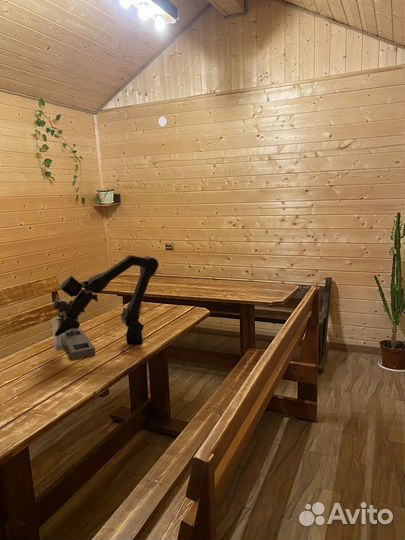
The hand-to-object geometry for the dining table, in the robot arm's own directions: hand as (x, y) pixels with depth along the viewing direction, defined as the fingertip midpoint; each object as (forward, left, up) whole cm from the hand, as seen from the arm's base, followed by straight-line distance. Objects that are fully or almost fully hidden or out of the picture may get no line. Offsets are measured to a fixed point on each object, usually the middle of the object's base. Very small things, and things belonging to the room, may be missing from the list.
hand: (54, 334), depth 157 cm
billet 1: (-1, -1, -7) cm, 7 cm away
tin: (-25, -56, -11) cm, 62 cm away
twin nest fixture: (-5, -12, -10) cm, 17 cm away
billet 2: (-1, -20, -10) cm, 23 cm away
